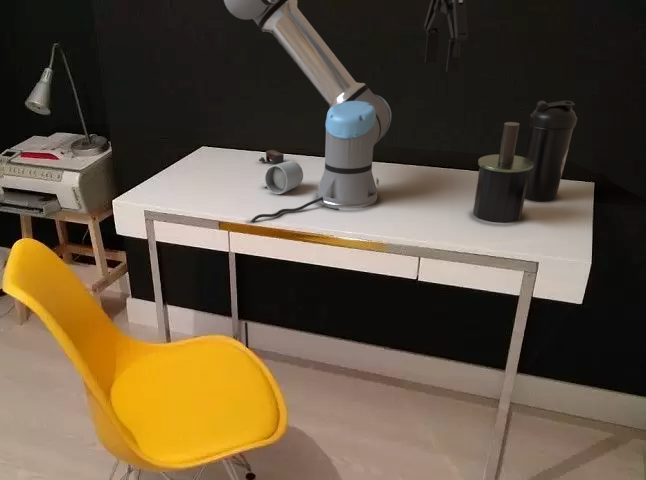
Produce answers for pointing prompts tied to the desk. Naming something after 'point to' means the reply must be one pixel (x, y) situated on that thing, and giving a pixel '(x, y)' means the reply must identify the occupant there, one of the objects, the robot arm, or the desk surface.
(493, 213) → the canister
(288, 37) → the robot arm
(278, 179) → the ceramic mug
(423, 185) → the desk surface
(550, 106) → the water bottle
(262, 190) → the desk surface
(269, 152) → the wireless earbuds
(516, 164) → the lid
